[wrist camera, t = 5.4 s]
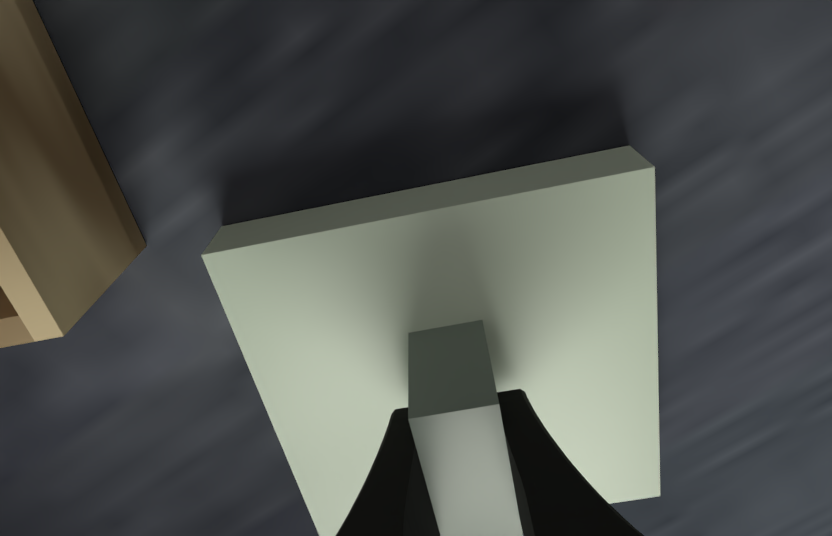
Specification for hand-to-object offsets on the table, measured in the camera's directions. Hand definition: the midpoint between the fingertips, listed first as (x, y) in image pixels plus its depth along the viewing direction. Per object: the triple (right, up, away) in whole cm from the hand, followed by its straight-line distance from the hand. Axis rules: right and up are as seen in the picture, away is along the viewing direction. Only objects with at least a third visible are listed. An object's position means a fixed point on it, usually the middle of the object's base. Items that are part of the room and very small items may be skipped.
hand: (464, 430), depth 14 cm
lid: (0, +1, +3) cm, 3 cm away
